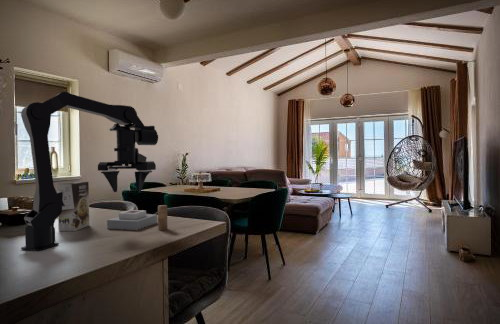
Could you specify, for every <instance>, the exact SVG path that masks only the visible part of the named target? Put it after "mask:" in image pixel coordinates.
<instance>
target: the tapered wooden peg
mask: <svg viewBox="0 0 500 324" xmlns="http://www.w3.org/2000/svg"><path fill="white" fill-rule="evenodd" d="M157 223H158V227H157V228H158V231H167V230H168V226H169V225H168V205H166V204H162V205H161V204H160V205H158V206H157Z"/></svg>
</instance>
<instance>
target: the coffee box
mask: <svg viewBox="0 0 500 324" xmlns="http://www.w3.org/2000/svg"><path fill="white" fill-rule="evenodd" d="M57 191H60V192H63V203H64V205H65V206H62V213H61V214H60V215H59V216H58V217H57V218H58V219H57V220H58V221H57V222H58V232H76V231H79V230H82V229H84V228H87V227H89V226H90V224H91V223H90V195H89V181H73V182H72V181H71V182H65V183H58V184H57Z"/></svg>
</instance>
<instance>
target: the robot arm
mask: <svg viewBox="0 0 500 324" xmlns="http://www.w3.org/2000/svg"><path fill="white" fill-rule="evenodd" d="M63 108H68V109H71V110H76V111H80V112H83V113H87V114H91V115H96V116H99V117H103V118H105V119H107V120H109V121H110V122H112V123H114V124H113V125H112V127H110V128H109V131H110V132H116V133H115V134H116V147H114V148H113V150H114V152H116V160H114V161H102V162H101V161H100V162H98V164H97V171H98V172H99V171H100V174H103V176H104V177H105V179H106V180H107V182H108V184H109V186H110V187H111V189H112V191H113V192H114V193H118V176H119V174H120V170H124V169H125V170H126V169H127V170H130V169H131V170H136V171H134V177H135V178H134V179H135V185H136V191H137V193H141V192H142V190H143V187H144V183H145V181H146V178H147V176H148V175H149V174H150V173H152V172H153V171H156V169H157V167H156V162H155V161H152V160H149V161H147V159H148V157H147V156H145V155H143V154H141V153H139V149H138V148H137V147H136V144H137V145H138V146H156V145H157V144H158V141H159V134H158V132H157V129H155V128H156V127H155V125H145V124H144V123H143V121H142V120H141V119H140V117H139V116H138V112H137V111H136V109H135V108H134V107H133V106H131V105H125V104H124V105H123V104H122V105H121V104H109V103H105V102H102V101H98V100H95V99H92V98H91V99H90V98H87V97H83V96H81V95H76V94H73V93H70V92H68V91H61V92H59V93H57V94H56V95H54V96H53V97H51V98H49V99H47V100H45V101H43V102H39V101H37V102H32V103H30V104H28V105H26V106H24V108H22V110H21V112H20V116H21V119H22V124H23V126H24V128H25V130H26V132H27V135H28V137H29V141H30V147H31V148H30V149H31V156H32V166H33V173H34V174H33V175H34V180H35V182H34V183H35V191H34V196H33V204H32V209H31V210H30V211H29V212H28V213H27V214H26V215H25V216H24V218H23V219H24V221H25V224H26V226H24V233H25V234H24V236H25V237H24V238H25V239H24V240H25V246H22V247H21V248H20V249H21V250H24V251H25V250H26V251H27V250H28V251H42V250H46V249H48V248H52V247H55V246H58V245H59V244H60V243H59V242H56V227H55V222H56V219H57V218H58V216H59V215H60V214H61V213H62V206H65V205H64V203H63V192H60V191H58V190H56V187H55V186H54V177H53V170H52V162H51V153H50V146H49V145H50V144H49V132H50V127H51V117H52V115H53V114H54V113H56V112H59V111H60V110H62V109H63Z"/></svg>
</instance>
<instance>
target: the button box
mask: <svg viewBox="0 0 500 324" xmlns="http://www.w3.org/2000/svg"><path fill="white" fill-rule="evenodd" d="M106 221H107V223H106V226H107V227H106V228H107V229H108V230H109V229H110V230H124V229H125V230H127V231H138V229H139V230H142V229H144V227H145V228H148V227H150V226H153V225H155V224H157V223H158V214H147V210H143V209H142V210H138V209H129V210H126V211H121V212H119V213H118V216H116V217H113V218H109V219H107V220H106ZM141 228H142V229H141Z"/></svg>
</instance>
